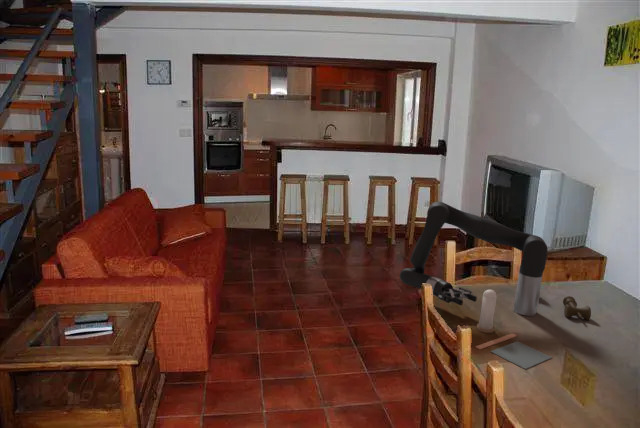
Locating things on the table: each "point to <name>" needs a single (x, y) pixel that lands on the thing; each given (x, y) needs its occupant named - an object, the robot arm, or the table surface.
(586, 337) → the table surface
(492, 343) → the distance line
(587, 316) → the kendama
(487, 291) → the skittle
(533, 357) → the mat
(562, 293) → the table surface
